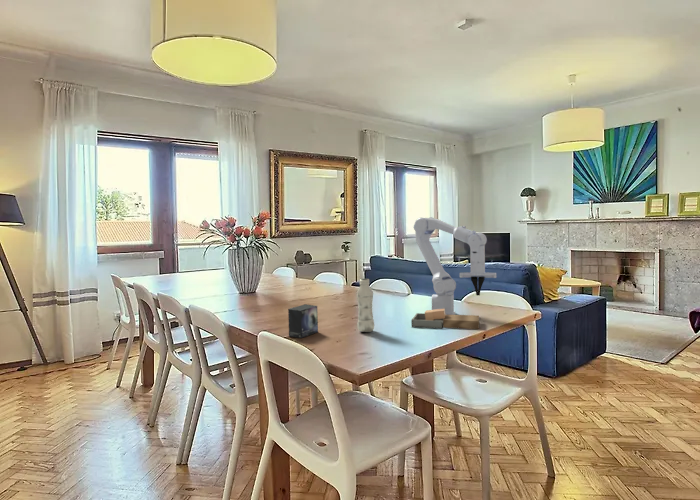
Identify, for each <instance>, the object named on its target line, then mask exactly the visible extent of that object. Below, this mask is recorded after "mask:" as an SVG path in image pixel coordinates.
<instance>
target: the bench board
mask: <svg viewBox="0 0 700 500" xmlns="http://www.w3.org/2000/svg"><path fill="white" fill-rule="evenodd" d="M479 327H480V315H474V314H473V315H472V314H471V315H470V314H467V315H466V314H455V315H446V317H445V318H444V319H443V326H442V328H444V329H445V328H446V329H447V328H448V329H463V330H464V329H467V330H479Z"/></svg>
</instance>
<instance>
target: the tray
mask: <svg viewBox="0 0 700 500" xmlns="http://www.w3.org/2000/svg"><path fill="white" fill-rule="evenodd" d="M443 319H444V318H443ZM443 319H435V321H432V320H426V319H425V312H424V313H420V312H416V313H415V315H414V316H413V318H411V328H421V329H423V328H424V329H442V328H443Z"/></svg>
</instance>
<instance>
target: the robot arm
mask: <svg viewBox="0 0 700 500" xmlns="http://www.w3.org/2000/svg"><path fill="white" fill-rule="evenodd" d="M412 227H413V230H414V233H415V243H416V244H417V246H418V248H419V250H420V252H421V254H422V256H423V258H424V260H425V262H426V264H427V266H428V268H429V270H430V272H431V274H432V279H431V282H432V285H433V291H434V293H433V294H432V295H431V310H434V309H445V313H446V315H456V311H455V310H454V309H455V306H454V305H455V304H454V303H455V301H454V299H455V298H454V297H455V293H454V292H455V290H457V289H456V288H457V283H456V280H455V279H453V278H452V276H451V275H450V274H449V273H448V272H446V271H445V269H444V267H443V264H442V262H441V261H440V259H439V257H438V255H437V253H436V251H435V249H434V248H433V245H432V243H431V241H430V239H431V236H432V235H433V233H434V232H435V230H440V231H443V232H445V233H448V234H451V235H453V238H454V239H456V240H458V241H461V242H463V243H465V244H467V245H468V246H469V248H470V249H469V250H470V252H469V254H470V255H469V257H470V271H468V272H459V278H461V279H462V278H470V280H471V282H472V284H473V287H474V290H475V294H476V296H481V289H482V287H483V284H484V282H485V279H486V278H487V279H488V278H490V279H492V278H493V279H497V272H488V271H487V272H486V256H485V255H486V251H485V248H486V244H487V243H488V239H487V236H486V234H484V233H483V232H477V230H475V229H474V230H471V229H469V228H466V225H462V226H461V225H459V226H454V225H451V224H450V223H447V222H446V221H444V220H441V219H438V218H434V217H433V216H431V217H418V218H417V219H416V220H415V222H414V224H413V226H412ZM435 293H436V294H435Z"/></svg>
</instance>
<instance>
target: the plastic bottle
mask: <svg viewBox="0 0 700 500" xmlns="http://www.w3.org/2000/svg"><path fill="white" fill-rule="evenodd" d="M370 284H371V283H370V279H369V278H360V279H359V287H358V289H357V291H356V301H357V308H358V309H357V310H358V314H357V317H358V318H357V324H356V326H357V330H358V331H359V332H361V333H370V332H373V331H374V329H375V321H374V316H373V315H374V314H373V313H374V312H373V299H374V291H373V290H372V287H370Z"/></svg>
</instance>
